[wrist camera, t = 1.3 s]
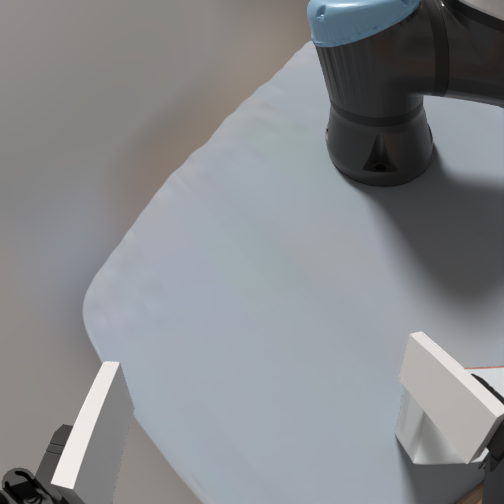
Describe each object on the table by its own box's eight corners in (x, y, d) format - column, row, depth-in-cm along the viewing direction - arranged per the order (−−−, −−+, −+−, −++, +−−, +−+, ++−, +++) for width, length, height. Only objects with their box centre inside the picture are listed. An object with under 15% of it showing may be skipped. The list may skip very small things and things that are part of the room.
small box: (473, 375, 23) (534, 362, 12) (464, 434, 20) (520, 456, 9) (403, 375, 26) (430, 367, 15) (392, 435, 23) (411, 467, 12)
